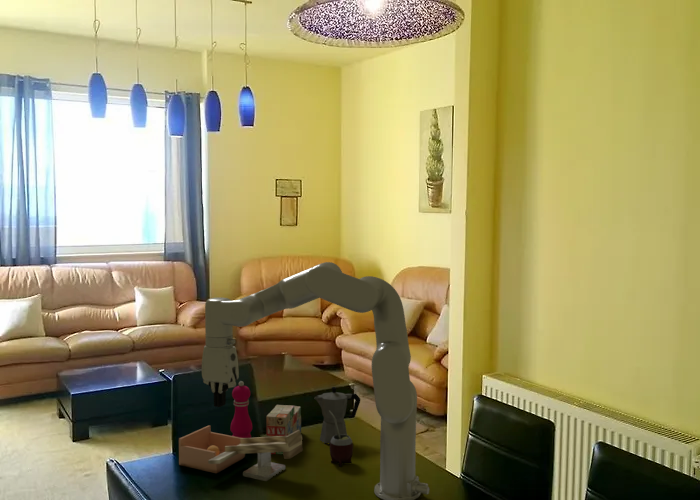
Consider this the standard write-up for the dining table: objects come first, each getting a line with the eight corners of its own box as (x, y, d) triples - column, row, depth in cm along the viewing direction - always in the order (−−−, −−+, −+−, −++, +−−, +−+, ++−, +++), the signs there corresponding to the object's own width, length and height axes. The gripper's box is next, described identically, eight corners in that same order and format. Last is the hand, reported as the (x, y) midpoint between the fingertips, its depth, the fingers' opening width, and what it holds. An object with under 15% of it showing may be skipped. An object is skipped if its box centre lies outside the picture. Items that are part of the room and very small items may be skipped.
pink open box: (244, 457, 207) (244, 432, 207) (216, 473, 195) (216, 446, 194) (208, 449, 213) (208, 425, 213) (179, 464, 201) (178, 438, 200)
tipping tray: (304, 449, 193) (300, 429, 194) (273, 469, 179) (269, 446, 179) (243, 452, 203) (240, 433, 204) (209, 471, 189) (206, 449, 189)
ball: (218, 441, 205) (209, 447, 207) (209, 445, 202) (201, 451, 203) (224, 453, 204) (215, 458, 206) (216, 457, 201) (207, 463, 202)
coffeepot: (314, 445, 218) (314, 391, 217) (313, 435, 227) (313, 383, 226) (361, 444, 219) (361, 390, 218) (358, 434, 228) (359, 382, 227)
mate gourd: (351, 467, 199) (351, 418, 198) (325, 466, 200) (325, 417, 199) (353, 458, 207) (354, 410, 206) (328, 457, 207) (328, 410, 207)
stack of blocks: (283, 431, 232) (283, 396, 231) (301, 432, 231) (301, 397, 230) (266, 454, 210) (266, 415, 210) (285, 455, 209) (285, 416, 209)
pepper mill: (226, 441, 221) (225, 382, 219) (239, 435, 227) (239, 377, 226) (243, 445, 217) (243, 385, 216) (256, 438, 224) (256, 380, 223)
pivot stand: (285, 469, 198) (285, 447, 198) (266, 481, 189) (266, 458, 189) (262, 464, 202) (262, 443, 201) (243, 475, 193) (242, 453, 192)
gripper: (248, 341, 189) (249, 405, 190) (206, 337, 195) (207, 399, 197) (232, 346, 182) (233, 413, 183) (189, 341, 189) (190, 405, 190)
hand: (219, 405), depth 190 cm, fingers closed
